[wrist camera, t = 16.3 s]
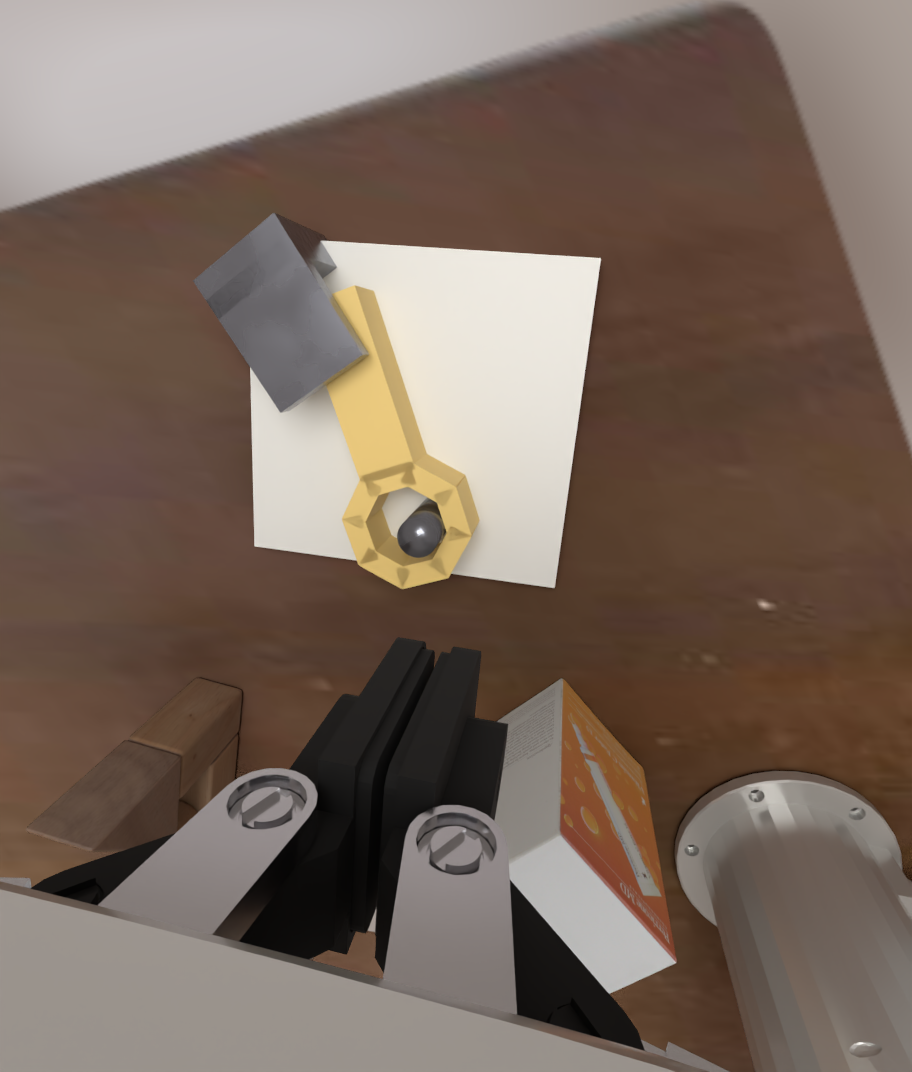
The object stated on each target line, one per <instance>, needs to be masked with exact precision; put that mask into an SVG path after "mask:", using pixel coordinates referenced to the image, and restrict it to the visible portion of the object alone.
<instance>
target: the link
mask: <svg viewBox="0 0 912 1072" xmlns="http://www.w3.org/2000/svg"><path fill="white" fill-rule="evenodd" d="M332 295H333V297H334V298H335V300H336V301H337V303H338V305H339V306H340V308H341V309H342V311H343V313H344V314H345V316H346V317H347V319H348V321H349V322H350V324H351V326H352V327H353V329H354V330H355V332H356V334H357V335H358V337H359V338H360V340H361V342H362V343H363V345H364V346H365V348H366V350H367V351H368V353H369V355H368V356H366V357H365V358H364V359H362V360H361V361H359V362H358V363H357V364H355V365H354V366H352V367H351V368H349V369H348V370H347V371H345V372H344V373H342V374H341V375H340V376H338V377H337V378H335V379H334V380H332V381H331V382H330V383H328V384H327V385H326V386H327V389H328V392H329V395H330V398H331V400H332V403H333V406H334V409H335V412H336V414H337V417H338V420H339V423H340V426H341V429H342V431H343V434H344V437H345V440H346V443H347V445H348V448H349V451H350V454H351V457H352V459H353V462H354V465H355V468H356V471H357V473H358V476H359V479H360V480H359V483H358V485H357V487H356V489H355V491H354V493H353V496H352V498H351V500H350V502H349V504H348V506H347V508H346V511H345V513H344V515H343V517H342V522H343V524H344V527H345V530H346V532H347V535H348V538H349V541H350V543H351V546H352V549H353V551H354V554H355V557H356V560H357V562H358V565H359V566H361V567H363V568H364V569H366V570H368V571H370V572H372V573H373V574H375V575H377V576H379V577H381V578H383V579H384V580H386V581H388V582H390V583H392V584H393V585H395V586H397V587H399V588H401V589H405V588H410V587H414V586H418V585H422V584H426V583H430V582H434V581H439V580H443V579H447V578H449V576H450V575H451V573H452V571H453V569H454V567H455V566H456V564H457V562H458V560H459V558H460V557H461V555H462V553H463V551H464V549H465V548H466V546H467V544H468V542H469V540H470V539H471V537H472V535H473V533H474V531H475V529H476V527H477V525H478V523H479V520H480V519H479V516H478V513H477V510H476V507H475V503H474V500H473V497H472V494H471V491H470V488H469V484H468V481H467V478H466V476H465V475H464V474H463V473H461V472H459V471H457V470H455V469H454V468H452V467H450V466H448V465H446V464H444V463H443V462H441V461H439V460H437V459H435V458H434V457H432V456H430V455H428V454H427V452H426V449H425V446H424V443H423V440H422V437H421V434H420V431H419V428H418V425H417V422H416V419H415V416H414V413H413V410H412V406H411V403H410V400H409V397H408V394H407V391H406V388H405V385H404V382H403V379H402V376H401V373H400V370H399V367H398V364H397V361H396V357H395V354H394V351H393V348H392V345H391V342H390V339H389V336H388V333H387V330H386V327H385V324H384V321H383V318H382V315H381V311H380V308H379V305H378V302H377V299H376V296H375V293H374V291H373V290H369V289H366V288H362V287H359V286H356V285H354V286H351V287H348V288H346V289H343V290H341V291H338V292H335V293H333V294H332ZM405 487H409V488H411V489H413V490H415V491H417V492H419V493H420V494H422V495H424V496H426V497H428V498H429V499H431V500H433V501H435V502H437V505H438V508H439V511H440V514H441V517H442V520H443V523H444V526H445V529H446V532H447V533H446V535H445V537H444V539H443V541H442V543H438V545H437V546H436V548H435V549H434V551H433V552H432V553H431V554H429V555H428V556H425V557H421V558H416V557H412V556H409V555H408V554H406V553H405V552H404V551H403V550H402V549H401V548H400V546H399V544H398V540H397V538H396V537H394V536H392V535H391V532H390V530H389V527H388V524H387V521H386V518H385V515H384V512H383V510H382V507H383V505H384V503H385V501H386V499H387V496H388V494H389V492H391V491H395V490H398V489H402V488H405Z"/></svg>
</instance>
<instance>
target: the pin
mask: <svg viewBox="0 0 912 1072" xmlns="http://www.w3.org/2000/svg"><path fill="white" fill-rule="evenodd" d="M445 533H446V529H445V526H444V523H443V520H442V517H441V514H440V511H439V508H438V505H437V502H435V501H433V500H431V499H429V498H427V499H425V500H424V501H423V502H422V503H421V504H420V505H419V506H418V508H417V509H416V510H415V511H414V512H413V513H412V514H411V515H410V516H409V517H408V518H407V519H406V520H405V521H404V522H403V524H402V525H401V526H400V528H399V530H398V533H397V540H398V544H399V546H400V548H401V549H402V550H403V551H404V552H405V553H406V554H408V555H409V556H412V557H416V558H421V557H425V556H428V555H429V554H431V553H432V552H433V551H434V549H435V548H436V546H437V545H438V543H439V542H440V540H441V539H442V537H443V536H444V534H445Z"/></svg>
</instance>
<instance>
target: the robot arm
mask: <svg viewBox="0 0 912 1072" xmlns="http://www.w3.org/2000/svg"><path fill="white" fill-rule="evenodd" d="M434 658H435V652H434V651H433V650H427V649H426V643H425V642H423V641H417V640H411V639H405V638H399V637H398V638H397V639H396V640H395V642H394V643H393V645H392V646H391V648H390V650H389V651H388V653H387V654H386V656H385V657H384V659H383V660H382V662H381V663H380V665H379V666H378V668H377V670H376V671H375V673H374V674H373V676H372V677H371V679H370V680H369V682H368V683H367V685H366V687H365V688H364V690H363V691H362V693H361V694H360V696H355V695H349V694H343V695H342V696H341V697H340V698H339V699H338V701H337V702H336V704H335V705H334V707H333V708H332V709H331V711H330V712H329V714H328V715H327V717H326V718H325V719H324V721H323V722H322V724H321V725H320V727H319V728H318V729H317V731H316V732H315V734H314V735H313V736H312V738H311V739H310V741H309V742H308V744H307V745H306V746H305V748H304V749H303V751H302V752H301V754H300V755H299V756H298V758H297V759H296V761H295V762H294V763H293V765H292V766H291V768H290V769H289V770H288V769H283V768H268V769H263V770H258V771H253V772H250V773H248V774H246V775H243V776H241V777H239V778H237V779H236V780H234V781H233V782H232V783H230V784H229V785H227V786H226V787H225V788H224V789H223V790H222V791H221V792H220V793H219V794H218V795H216V796H215V797H214V798H213V799H212V800H211V801H210V802H209V803H208V804H207V805H206V806H205V807H203V808H202V809H201V810H200V811H199V812H198V813H197V814H196V815H195V816H194V817H193V818H192V819H190V820H189V821H188V822H187V823H186V824H185V825H184V826H183V827H182V828H181V829H180V830H179V831H177V832H176V833H174V834H171V835H168V836H165V837H162V838H159V839H156V840H153V841H150V842H147V843H144V844H141V845H138V846H135V847H132V848H129V849H126V850H124V851H121V852H118V853H115V854H112V855H109V856H106V857H103V858H100V859H97V860H94V861H91V862H88V863H85V864H82V865H79V866H77V867H74V868H71V869H68V870H65V871H62V872H60V873H58V874H55V875H53V876H51V877H49V878H46V879H44V880H43V881H41V882H40V883H38V884H37V885H35V886H34V887H32V888H31V882H30V878H0V1072H729V1071H727V1070H725V1069H723V1068H721V1067H719V1066H717V1065H715V1064H713V1063H711V1062H709V1061H707V1060H705V1059H703V1058H701V1057H699V1056H697V1055H694V1054H692V1053H690V1052H688V1051H686V1050H684V1049H682V1048H680V1047H678V1046H676V1045H674V1044H672V1043H670V1042H668V1044H667V1048H666V1052H665V1051H663V1050H661V1049H659V1048H657V1047H655V1046H653V1045H651V1044H649V1043H647V1042H645V1041H643V1040H641V1039H640V1036H639V1033H638V1031H637V1029H636V1028H635V1026H634V1025H633V1023H632V1022H631V1020H630V1019H629V1018H628V1016H627V1015H626V1013H625V1012H624V1011H623V1009H622V1008H621V1007H620V1006H619V1005H618V1004H617V1002H616V1001H615V1000H614V999H613V998H612V997H611V996H610V994H609V993H608V992H607V991H606V990H605V989H604V987H603V986H602V985H601V984H600V983H599V982H598V980H597V979H596V978H595V977H594V976H593V975H592V974H591V972H590V971H589V970H588V969H587V968H586V967H585V965H584V964H583V963H582V962H581V961H580V960H579V959H578V957H577V956H576V955H575V954H574V953H573V952H572V950H571V949H570V948H569V947H568V946H567V945H566V944H565V942H564V941H563V940H562V939H561V938H560V937H559V935H558V934H557V933H556V932H555V931H554V930H553V929H552V927H551V926H550V925H549V924H548V923H547V922H546V920H545V919H544V918H543V917H542V916H541V915H540V914H539V912H538V911H537V910H536V909H535V908H534V907H533V905H532V904H531V903H530V902H529V901H528V900H527V899H526V897H525V896H524V895H523V894H522V893H521V892H520V890H519V889H518V888H517V887H516V886H515V885H514V883H513V882H512V881H511V880H510V875H509V857H508V845H507V841H506V837H505V834H504V833H503V831H502V830H501V828H500V827H499V825H498V824H497V823H496V822H495V821H494V820H495V815H496V809H497V803H498V797H499V791H500V784H501V778H502V771H503V763H504V756H505V748H506V740H507V732H508V724H506V723H501V722H495V721H490V720H484V719H479V718H474V716H475V707H476V698H477V689H478V680H479V671H480V661H481V651H477V650H471V649H465V648H459V647H453V648H452V651H451V653H445V652H442V653H441V654H440V656H439V659H438V661H437V663H436V665H435V667H434ZM675 861H676V867H677V873H678V876H679V880H680V883H681V886H682V889H683V890H684V892H685V894H686V896H687V897H688V899H689V901H690V902H691V904H692V905H693V906H694V907H695V908H696V909H697V910H698V911H699V912H700V914H701V915H702V916H704V917H705V918H706V919H707V920H709V921H710V922H711V923H712V924H714V925H715V926H717V927H718V931H719V934H720V938H721V942H722V946H723V950H724V954H725V958H726V962H727V965H728V969H729V973H730V977H731V981H732V985H733V989H734V993H735V996H736V1000H737V1004H738V1008H739V1012H740V1016H741V1020H742V1023H743V1027H744V1031H745V1035H746V1039H747V1043H748V1047H749V1051H750V1054H751V1058H752V1062H753V1066H754V1070H755V1072H912V881H911V880H909V879H907V878H906V876H905V875H904V873H903V872H902V858H901V851H900V848H899V845H898V842H897V840H896V837H895V835H894V833H893V832H892V830H891V829H890V827H889V825H888V824H887V822H886V821H885V819H884V818H883V816H882V815H881V814H880V813H879V812H878V810H877V809H876V808H875V807H874V806H873V804H871V803H870V802H869V801H868V800H866V799H865V798H864V797H863V796H861V795H860V794H859V793H858V792H856V791H854V790H853V789H851V788H849V787H847V786H845V785H843V784H841V783H839V782H837V781H834V780H831V779H828V778H825V777H822V776H819V775H815V774H809V773H803V772H797V771H770V772H762V773H754V774H750V775H747V776H743V777H740V778H736V779H733V780H731V781H729V782H727V783H725V784H723V785H720V786H718V787H716V788H714V789H713V790H712V791H710V792H709V793H708V794H706V795H705V796H703V797H702V798H701V799H700V800H699V801H698V802H697V803H696V804H695V805H694V806H693V807H692V808H691V809H690V810H689V811H688V813H687V815H686V816H685V818H684V820H683V821H682V823H681V825H680V827H679V830H678V833H677V837H676V840H675ZM376 907H377V908H376ZM375 910H376V924H375V935H376V951H375V958H376V960H377V962H378V964H379V966H380V967H381V969H382V971H383V973H384V976H383V979H380V978H376V977H373V976H369V975H365V974H361V973H358V972H354V971H350V970H346V969H342V968H338V967H335V966H331V965H327V964H323V963H319V962H315V961H313V958H314V957H315V956H317V955H319V954H321V953H323V952H325V951H327V950H331V951H335V952H339V953H342V954H346V955H347V953H348V950H349V947H350V945H351V942H352V940H353V937H354V934H355V932H356V931H357V932H361V933H366V932H367V931H368V929H369V926H370V924H371V921H372V918H373V915H374V913H375Z"/></svg>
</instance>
